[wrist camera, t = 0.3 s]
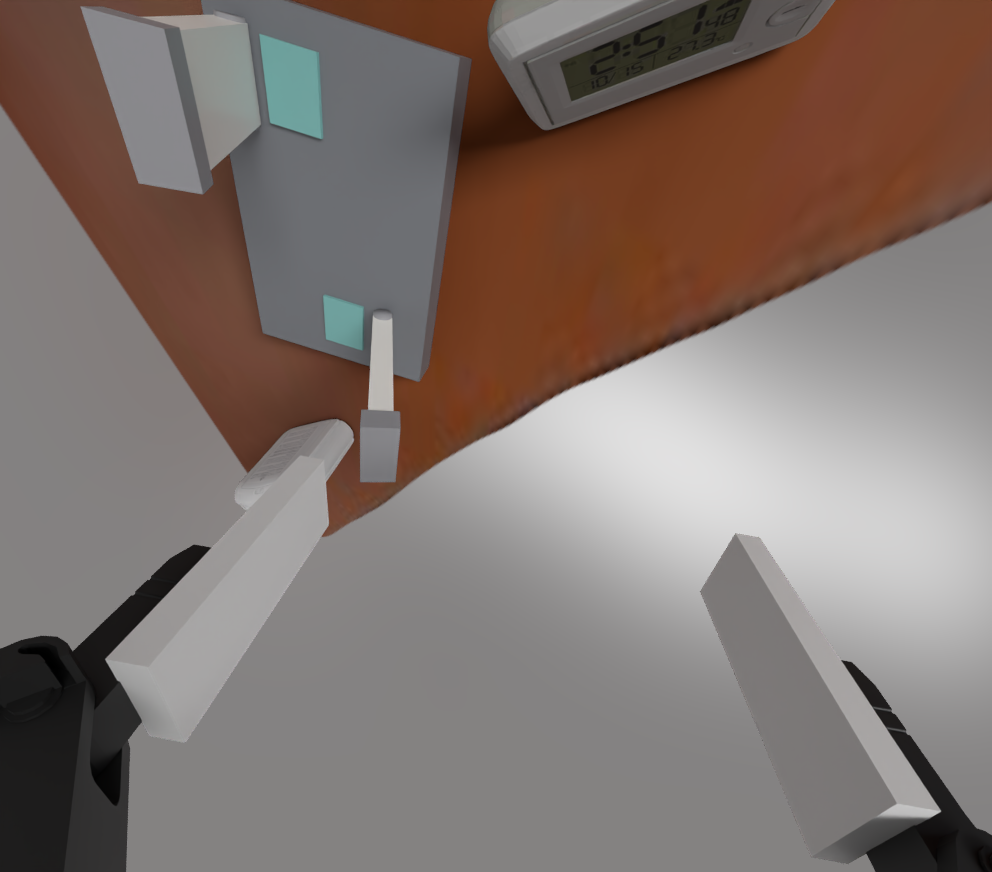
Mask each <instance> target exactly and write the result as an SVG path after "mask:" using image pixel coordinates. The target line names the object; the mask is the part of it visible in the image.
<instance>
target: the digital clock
mask: <svg viewBox="0 0 992 872" xmlns="http://www.w3.org/2000/svg"><path fill="white" fill-rule="evenodd" d="M834 1H835V0H496V1H495V3H494V5H493V8H492V11H491V14H490V16H489V19H488V28H487V31H488V42H489V48H490V50H491V52H492V54H493V56H494V58H495V60H496V62H497V64H498V65H499V67H500V69H501V70H502V72H503V74H504V75H505V77H506V79H507V80H508V82H509V84H510V85H511V87H512V89H513V91H514V92H515V94H516V96H517V97H518V99H519V101H520V102H521V104H522V106H523V107H524V109H525V111H526V112H527V114H528V116H529V117H530V118H531V119H532V120H533V121H534V122H535V123H536V124H537V125H538V126H539V127H540V128H541V129H543V130H551V129H554V128H557V127H560V126H563V125H566V124H569V123H572V122H575V121H577V120H580V119H583V118H586V117H589V116H591V115H594V114H597V113H600V112H602V111H605V110H608V109H611V108H613V107H616V106H619V105H622V104H624V103H627V102H630V101H633V100H635V99H638V98H641V97H644V96H647V95H649V94H652V93H655V92H658V91H660V90H663V89H666V88H669V87H671V86H674V85H677V84H680V83H682V82H685V81H688V80H691V79H693V78H696V77H699V76H702V75H704V74H707V73H710V72H713V71H715V70H718V69H721V68H724V67H727V66H729V65H732V64H735V63H738V62H740V61H743V60H746V59H749V58H751V57H754V56H757V55H760V54H762V53H765V52H768V51H770V50H773V49H776V48H778V47H781V46H784V45H786V44H789V43H791V42H794V41H796V40H798V39H800V38H802V37H804V36H805V35H806V34H808V33H809V32H810V31H811V30H812V29H813V28H814V27H815V26H816V25H817V24H818V22H819V21H820V20H821V18H822V17H823V16H824V14H825V13H826V12H827V11H828V9H829V8H830V7H831V5H832V4H833V3H834Z"/></svg>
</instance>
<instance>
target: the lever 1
mask: <svg viewBox="0 0 992 872" xmlns="http://www.w3.org/2000/svg"><path fill="white" fill-rule="evenodd" d="M80 7H81V10H82V13H83V16H84V19H85V22H86V25H87V28H88V31H89V34H90V37H91V40H92V43H93V46H94V49H95V52H96V55H97V58H98V61H99V64H100V67H101V70H102V73H103V76H104V79H105V83H106V86H107V89H108V92H109V95H110V98H111V101H112V104H113V107H114V110H115V113H116V116H117V119H118V122H119V125H120V128H121V131H122V134H123V137H124V140H125V143H126V146H127V149H128V152H129V155H130V158H131V162H132V165H133V168H134V171H135V174H136V177H137V180H138V183H140V184H146V185H152V186H158V187H163V188H169V189H175V190H180V191H186V192H192V193H198V194H204V193H205V192H206V191H207V190H208V189H209V188H210V187H211V186H212V185H213V179H212V174H211V170H212V169H213V168H214V167H215V166H216V165H217V164H218V163H219V162H220V161H221V160H223V159H224V158H225V157H226V156H227V155H228V154H229V153H230V152H231V151H232V150H234V149H235V148H236V147H237V146H238V145H239V144H240V143H241V142H242V141H243V140H245V139H246V138H247V137H248V136H249V135H250V134H251V133H252V132H253V131H255V130H260V125H261V120H260V113H259V105H258V98H257V91H256V83H255V76H254V68H253V61H252V54H251V46H250V39H249V31H248V24H247V23H246V22H245V18H243V17H240V16H237V15H234V14H230V13H227V12H223V11H218V10H213V13H214V15H186V16H156V17H139V16H135V15H132V14H128V13H124V12H121V11H117V10H113V9H110V8H106V7H86V6H80Z"/></svg>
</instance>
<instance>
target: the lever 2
mask: <svg viewBox="0 0 992 872" xmlns="http://www.w3.org/2000/svg"><path fill="white" fill-rule="evenodd" d="M399 438H400V412H399V411H393V335H392V312H391V311H389V310H387V309H381V308H380V309H375V310H374V311H373V323H372V342H371V362H370V381H369V401H368V410H361V423H360V482H395V480H396V470H397V459H398V448H399Z"/></svg>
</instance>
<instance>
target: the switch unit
mask: <svg viewBox="0 0 992 872" xmlns="http://www.w3.org/2000/svg"><path fill="white" fill-rule="evenodd" d="M201 3H202V8H203V14H204V15H214V13H213V10H218V11H223V12H227V13H230V14H234V15H237V16H240V17H243V18H245V22H246V23H247V24H248V31H249V39H250V46H251V54H252V61H253V68H254V76H255V83H256V91H257V98H258V105H259V113H260V120H261V125H260V130H255V131H253V132H252V133H251V134H250V135H249V136H248V137H247V138H246V139H245V140H243V141H242V142H241V143H240V144H239V145H238V146H237V147H236V148H235V149H234V150H232V151H231V152H230V153H229V154H230V159H231V164H232V170H233V175H234V181H235V186H236V191H237V197H238V202H239V207H240V213H241V218H242V224H243V229H244V234H245V240H246V245H247V251H248V256H249V261H250V267H251V272H252V277H253V283H254V288H255V294H256V299H257V304H258V310H259V315H260V320H261V326H262V331H263V333H264V334H267V335H270V336H274V337H277V338H280V339H283V340H286V341H290V342H293V343H296V344H299V345H303V346H306V347H309V348H312V349H315V350H319V351H322V352H325V353H328V354H331V355H335V356H338V357H341V358H344V359H347V360H351V361H354V362H357V363H360V364H363V365H367V366H370V362H371V342H372V323H373V311H374V310H375V309H380V308H381V309H387V310H389V311H391V312H392V335H393V374H395V375H399V376H402V377H405V378H408V379H411V380H415V381H418V382H419V381H420V380H421V378H422V376H423V375H424V373H425V371H426V370H427V368H428V366H429V361H430V354H431V347H432V340H433V332H434V325H435V318H436V311H437V304H438V297H439V290H440V283H441V275H442V268H443V261H444V254H445V247H446V240H447V233H448V226H449V218H450V211H451V204H452V197H453V190H454V183H455V176H456V169H457V161H458V154H459V147H460V140H461V133H462V126H463V119H464V112H465V104H466V97H467V90H468V83H469V76H470V69H471V62H472V59H471V58H467V57H464V56H461V55H458V54H455V53H452V52H449V51H446V50H443V49H440V48H436V47H433V46H430V45H427V44H424V43H421V42H418V41H415V40H412V39H409V38H405V37H402V36H399V35H396V34H393V33H390V32H387V31H384V30H381V29H378V28H375V27H371V26H368V25H365V24H362V23H359V22H356V21H353V20H350V19H347V18H344V17H340V16H337V15H334V14H331V13H328V12H325V11H322V10H319V9H316V8H313V7H309V6H306V5H303V4H300V3H297V2H294V1H291V0H201Z"/></svg>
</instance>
